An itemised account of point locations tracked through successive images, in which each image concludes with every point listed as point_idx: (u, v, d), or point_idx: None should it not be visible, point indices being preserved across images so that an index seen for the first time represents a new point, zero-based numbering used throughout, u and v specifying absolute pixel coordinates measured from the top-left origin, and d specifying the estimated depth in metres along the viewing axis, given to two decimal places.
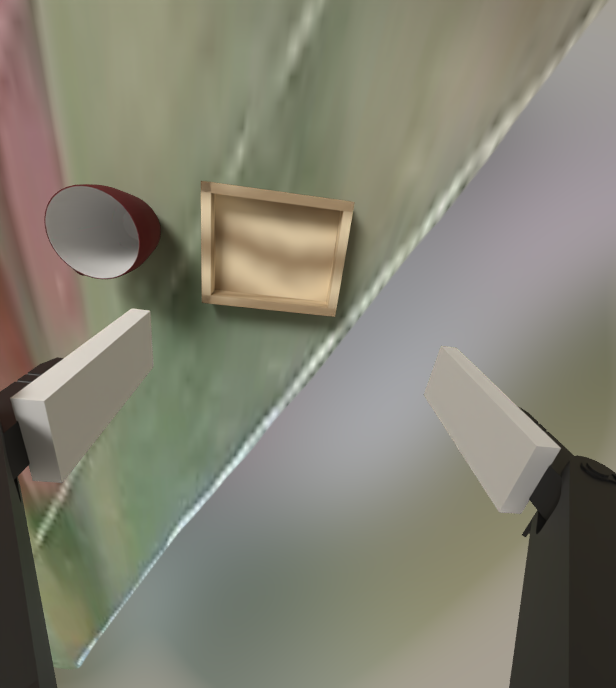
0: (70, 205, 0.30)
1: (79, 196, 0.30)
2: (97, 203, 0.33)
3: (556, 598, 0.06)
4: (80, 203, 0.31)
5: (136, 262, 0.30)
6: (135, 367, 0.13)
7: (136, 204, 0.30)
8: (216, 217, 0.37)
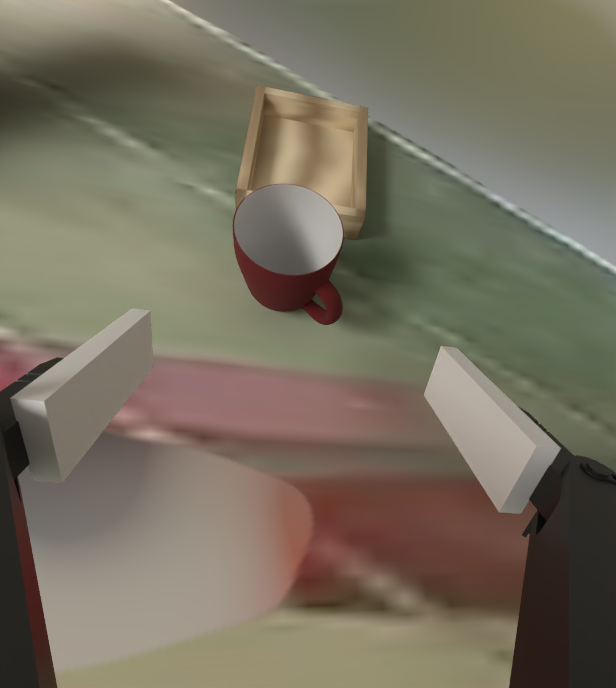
0: None
1: None
2: None
3: (556, 599, 0.06)
4: None
5: None
6: (135, 367, 0.13)
7: None
8: None
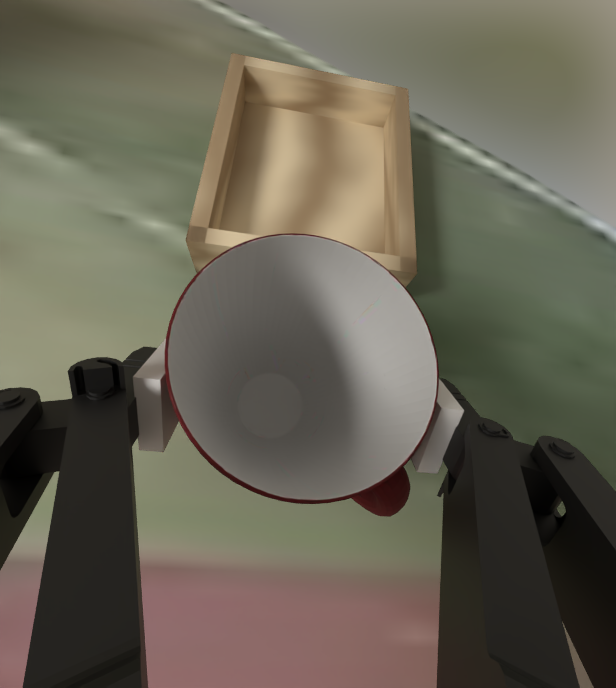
0: (227, 461, 0.10)
1: (204, 434, 0.11)
2: (225, 441, 0.13)
3: (469, 557, 0.07)
4: (224, 452, 0.12)
5: (378, 267, 0.11)
6: None
7: None
8: None
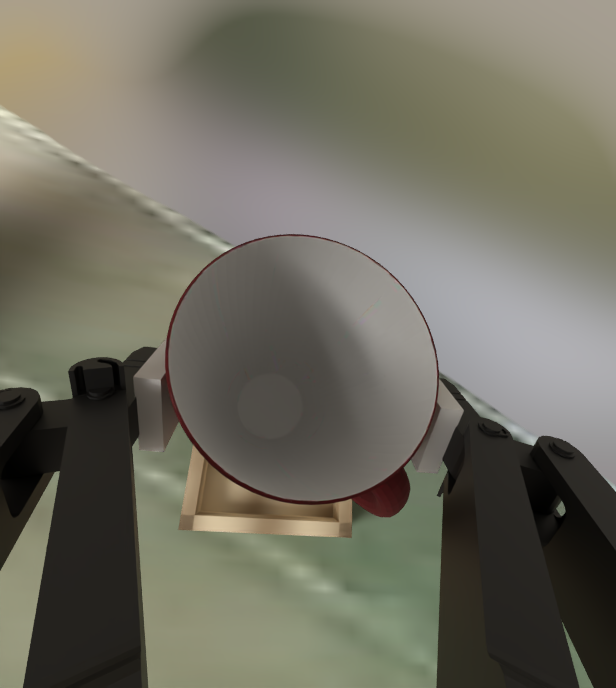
0: (227, 462, 0.10)
1: (204, 435, 0.11)
2: (225, 441, 0.13)
3: (469, 557, 0.07)
4: (224, 453, 0.12)
5: (378, 268, 0.11)
6: None
7: None
8: (232, 510, 0.27)
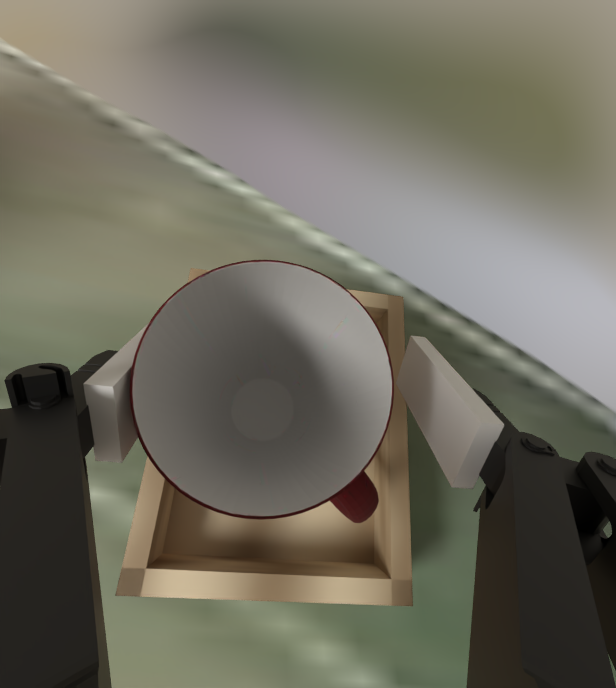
0: (199, 472, 0.11)
1: (180, 446, 0.12)
2: (210, 447, 0.15)
3: (505, 572, 0.06)
4: (202, 461, 0.13)
5: None
6: None
7: None
8: (213, 554, 0.17)
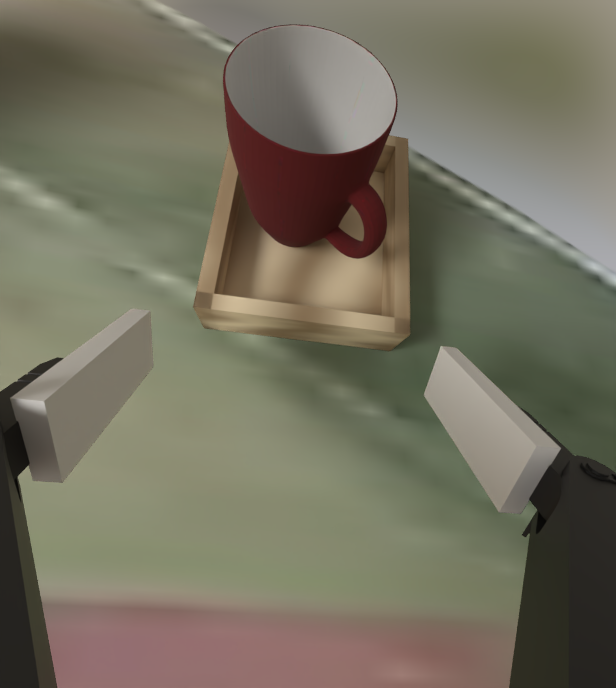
0: None
1: None
2: None
3: (556, 598, 0.06)
4: None
5: (359, 50, 0.16)
6: (135, 367, 0.13)
7: None
8: None
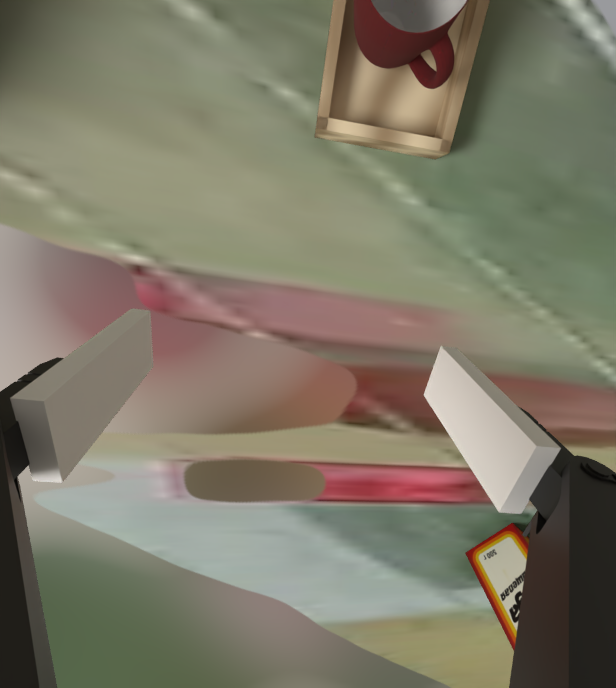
0: None
1: None
2: None
3: (556, 598, 0.06)
4: None
5: None
6: (135, 367, 0.13)
7: None
8: None
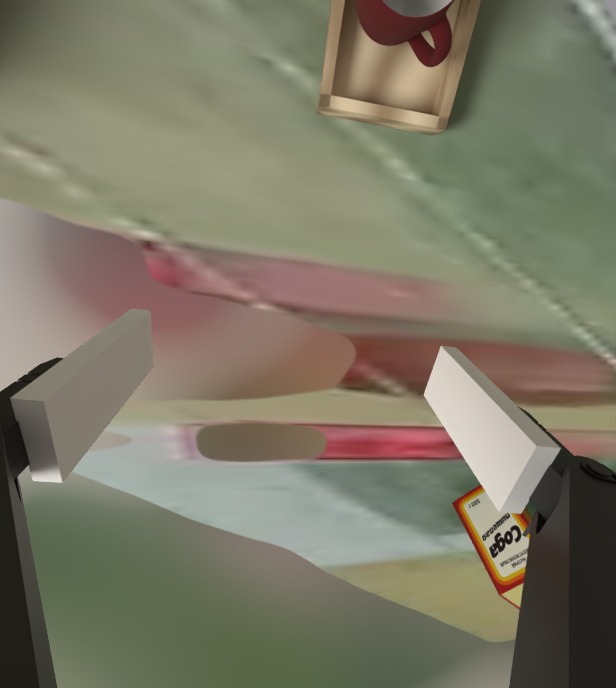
0: None
1: None
2: None
3: (556, 599, 0.06)
4: None
5: None
6: (135, 367, 0.13)
7: None
8: None
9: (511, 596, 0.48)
